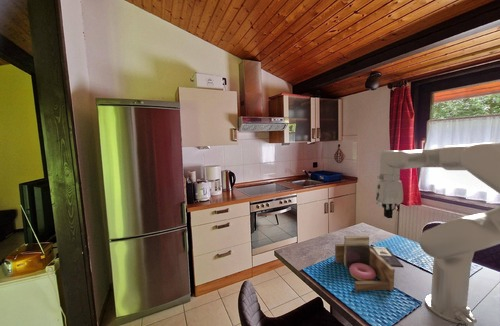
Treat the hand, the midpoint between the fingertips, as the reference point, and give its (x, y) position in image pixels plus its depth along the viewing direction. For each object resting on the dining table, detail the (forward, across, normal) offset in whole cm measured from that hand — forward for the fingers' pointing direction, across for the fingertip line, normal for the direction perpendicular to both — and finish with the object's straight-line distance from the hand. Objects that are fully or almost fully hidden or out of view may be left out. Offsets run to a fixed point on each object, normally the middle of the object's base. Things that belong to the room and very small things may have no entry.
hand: (388, 217), depth 98 cm
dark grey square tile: (+26, -12, +4) cm, 29 cm away
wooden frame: (+26, -12, 0) cm, 29 cm away
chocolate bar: (+27, +8, +12) cm, 31 cm away
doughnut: (+27, -13, -2) cm, 30 cm away
